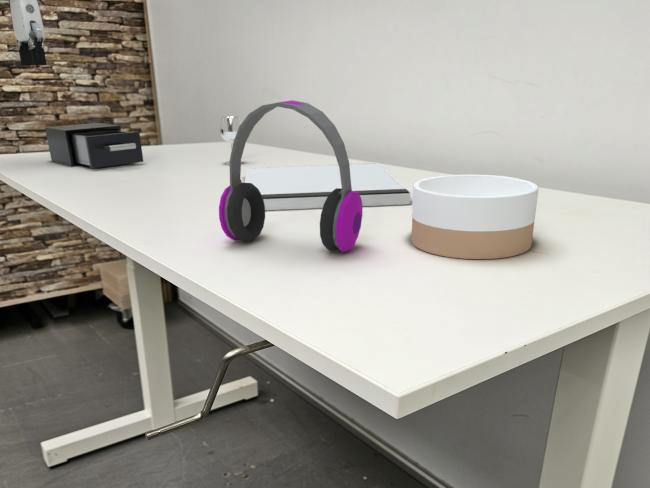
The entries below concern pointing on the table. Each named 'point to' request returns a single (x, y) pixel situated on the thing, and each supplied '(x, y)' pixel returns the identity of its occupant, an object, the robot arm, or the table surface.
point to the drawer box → (61, 140)
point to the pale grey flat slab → (324, 185)
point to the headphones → (247, 202)
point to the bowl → (473, 216)
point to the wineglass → (229, 128)
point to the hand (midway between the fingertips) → (33, 65)
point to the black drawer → (106, 148)
